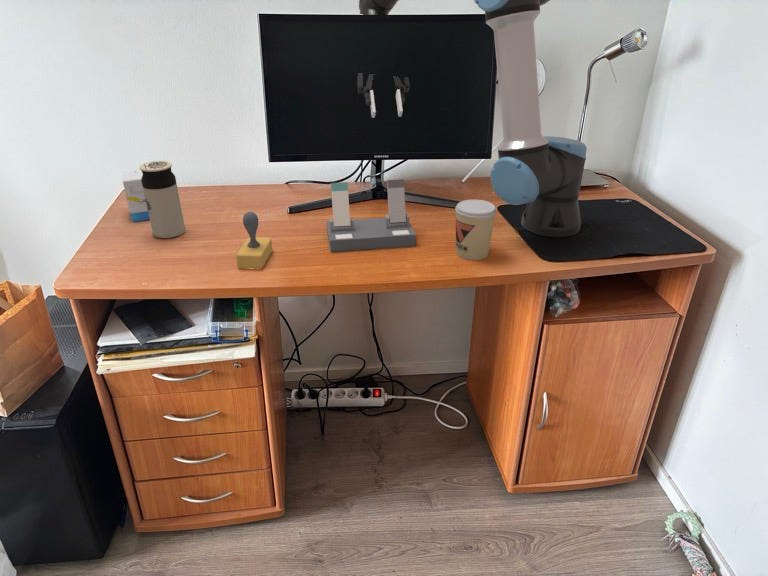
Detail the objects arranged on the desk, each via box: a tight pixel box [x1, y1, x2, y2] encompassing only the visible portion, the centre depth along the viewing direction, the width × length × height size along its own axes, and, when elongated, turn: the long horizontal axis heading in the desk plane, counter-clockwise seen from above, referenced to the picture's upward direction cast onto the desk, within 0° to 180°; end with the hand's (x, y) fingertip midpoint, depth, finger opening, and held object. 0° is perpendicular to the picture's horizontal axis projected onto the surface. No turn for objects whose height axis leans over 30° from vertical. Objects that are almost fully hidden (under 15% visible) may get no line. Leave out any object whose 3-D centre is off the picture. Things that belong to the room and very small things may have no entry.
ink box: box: [122, 169, 150, 223], centre depth 154 cm, size 8×8×12 cm
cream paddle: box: [330, 181, 351, 227], centre depth 139 cm, size 2×4×11 cm, turn 99°
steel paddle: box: [386, 178, 407, 224], centre depth 141 cm, size 2×4×11 cm, turn 99°
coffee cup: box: [454, 199, 497, 261], centre depth 133 cm, size 9×9×12 cm
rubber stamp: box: [235, 211, 273, 270], centre depth 130 cm, size 10×6×12 cm, turn 176°
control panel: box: [326, 213, 417, 253], centre depth 141 cm, size 12×21×6 cm, turn 99°
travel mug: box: [139, 160, 186, 239], centre depth 142 cm, size 8×8×18 cm
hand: (387, 114), depth 147 cm, fingers open, 6 cm apart
